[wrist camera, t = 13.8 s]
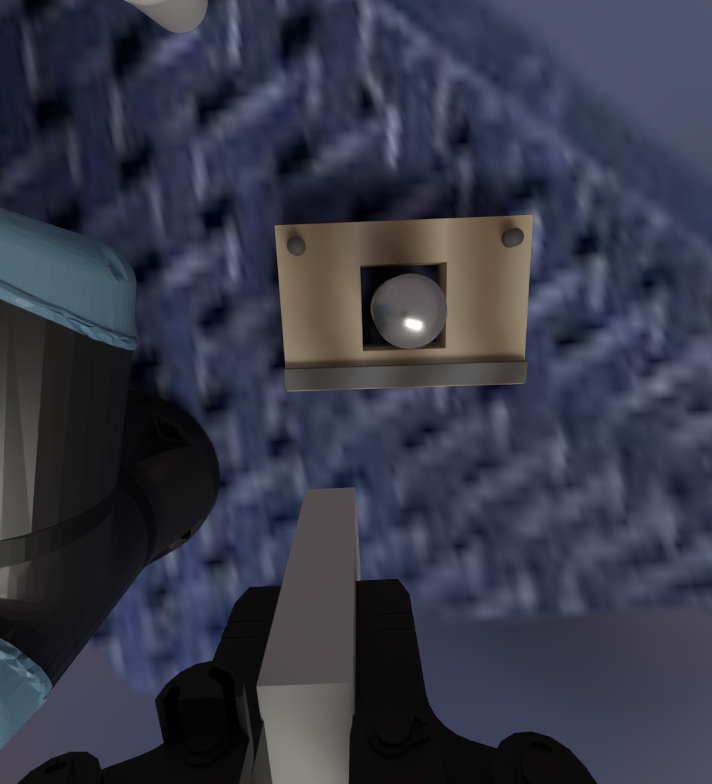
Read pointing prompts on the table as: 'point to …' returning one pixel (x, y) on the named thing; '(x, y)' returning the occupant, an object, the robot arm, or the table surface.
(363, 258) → the plate
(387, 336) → the grey metal peg
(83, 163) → the table surface
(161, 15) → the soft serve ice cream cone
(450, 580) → the table surface
